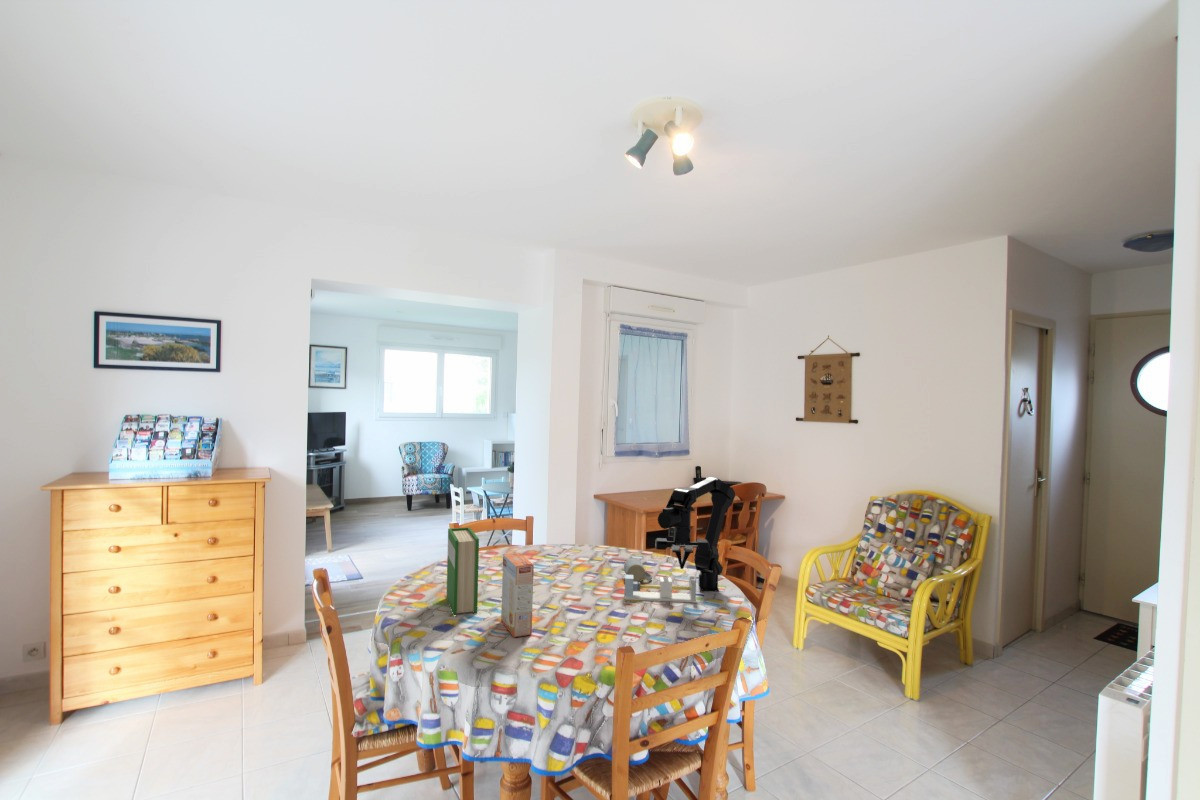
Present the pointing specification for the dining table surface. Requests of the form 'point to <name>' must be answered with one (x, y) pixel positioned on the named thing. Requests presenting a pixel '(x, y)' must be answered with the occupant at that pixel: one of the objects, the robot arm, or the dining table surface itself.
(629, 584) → the cord rig
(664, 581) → the marker sleeve
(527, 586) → the cracker box
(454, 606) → the hardback book
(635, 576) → the ceramic mug
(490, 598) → the dining table surface
